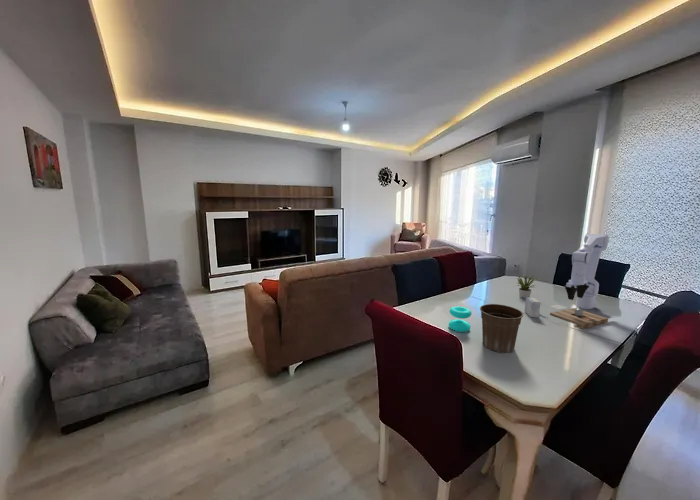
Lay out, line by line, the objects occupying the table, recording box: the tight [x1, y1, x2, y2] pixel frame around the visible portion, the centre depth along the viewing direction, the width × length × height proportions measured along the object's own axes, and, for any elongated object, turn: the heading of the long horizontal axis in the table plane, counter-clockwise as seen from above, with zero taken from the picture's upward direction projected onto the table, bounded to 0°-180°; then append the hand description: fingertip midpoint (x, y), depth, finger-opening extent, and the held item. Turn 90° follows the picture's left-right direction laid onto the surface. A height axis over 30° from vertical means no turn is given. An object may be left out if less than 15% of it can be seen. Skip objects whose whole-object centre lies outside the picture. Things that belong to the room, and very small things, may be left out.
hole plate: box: [549, 307, 609, 330], centre depth 151 cm, size 20×16×3 cm
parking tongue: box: [549, 304, 569, 311], centre depth 166 cm, size 8×6×2 cm
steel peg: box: [574, 307, 584, 318], centre depth 151 cm, size 4×4×6 cm
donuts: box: [448, 305, 472, 333], centre depth 140 cm, size 10×10×10 cm
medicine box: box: [524, 297, 541, 318], centre depth 158 cm, size 8×4×9 cm, turn 168°
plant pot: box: [479, 303, 524, 354], centre depth 122 cm, size 16×16×16 cm
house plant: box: [516, 274, 541, 299], centre depth 183 cm, size 14×14×16 cm
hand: (575, 298), depth 154 cm, fingers open, 7 cm apart
